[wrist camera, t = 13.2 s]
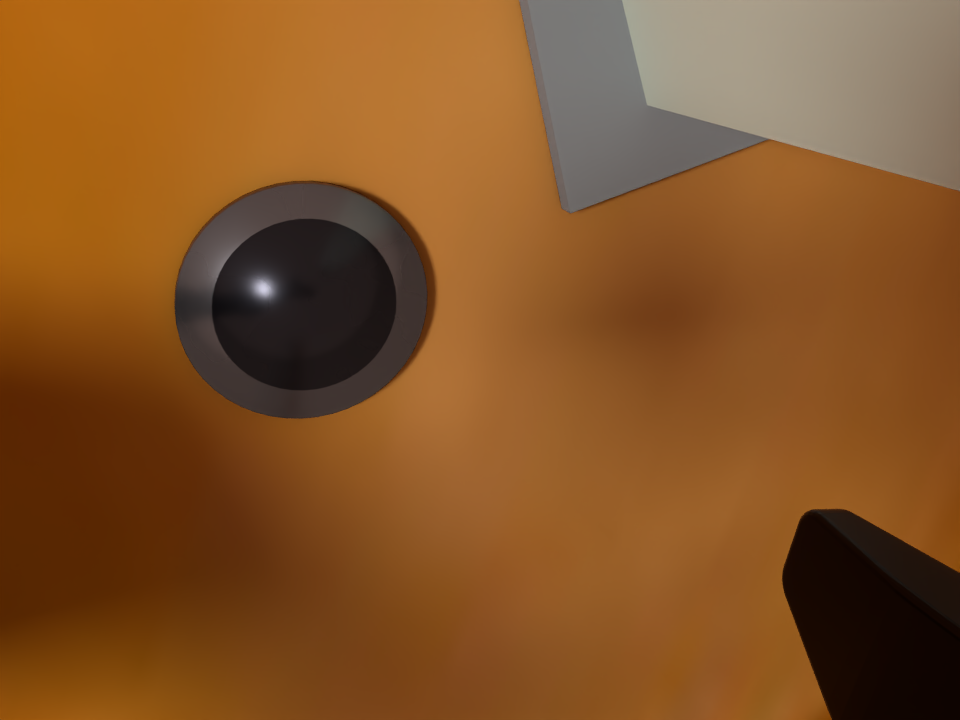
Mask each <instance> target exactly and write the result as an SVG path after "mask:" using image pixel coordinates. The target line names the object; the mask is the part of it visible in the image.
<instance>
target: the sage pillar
mask: <svg viewBox="0 0 960 720" xmlns="http://www.w3.org/2000/svg"><path fill="white" fill-rule="evenodd" d="M622 2H623V7H624V11H625V15H626V19H627V23H628V27H629V32H630V36H631V40H632V44H633V48H634V53H635V57H636V61H637V65H638V69H639V73H640V78H641V82H642V86H643V90H644V94H645V98H646V103H647V105H648V106H652V107H656V108H659V109H663V110H666V111H670V112H674V113H677V114H681V115H685V116H688V117H692V118H696V119H699V120H703V121H706V122H710V123H714V124H717V125H721V126H725V127H728V128H732V129H736V130H739V131H743V132H747V133H750V134H754V135H757V136H761V137H765V138H768V139H772V140H776V141H779V142H783V143H787V144H790V145H794V146H797V147H801V148H805V149H808V150H812V151H816V152H819V153H823V154H827V155H830V156H834V157H838V158H841V159H845V160H848V161H852V162H856V163H859V164H863V165H867V166H870V167H874V168H878V169H881V170H885V171H888V172H892V173H896V174H899V175H903V176H907V177H910V178H914V179H918V180H921V181H925V182H929V183H932V184H936V185H939V186H943V187H947V188H950V189H954V190H958V191H960V0H622Z"/></svg>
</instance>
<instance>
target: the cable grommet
mask: <svg viewBox="0 0 960 720" xmlns="http://www.w3.org/2000/svg"><path fill="white" fill-rule="evenodd" d="M426 309H427V286H426V278H425V273H424V269H423V265H422V262H421V260H420V257H419V254H418V252H417V250H416V248H415V246H414V244H413V243H412V241H411V239H410V237H409V236H408V235H407V233H406V232H405V231H404V229H403V228H402V227H401V225H400V224H399V223H398V222H397V221H396V220H395V219H394V218H393V217H392V216H391V215H390V214H389V213H388V212H387V211H386V210H384V209H383V208H382V207H380V206H379V205H378V204H377V203H375V202H374V201H372V200H370V199H369V198H367V197H365V196H363V195H362V194H360V193H357V192H355V191H352V190H350V189H347V188H345V187H341V186H337V185H333V184H330V183H323V182H315V181H292V182H285V183H278V184H274V185H270V186H266V187H263V188H259V189H257V190H255V191H252V192H250V193H247V194H245V195H243V196H241V197H239V198H238V199H236V200H234V201H233V202H231V203H229V204H228V205H226V206H225V207H224V208H223V209H221V210H220V211H219V212H217V213H216V214H215V215H214V216H213V217H212V218H211V219H210V220H209V221H208V222H207V223H206V224H205V225H204V226H203V227H202V229H201V230H200V231H199V233H198V234H197V235H196V237H195V238H194V239H193V241H192V243H191V244H190V246H189V248H188V250H187V252H186V254H185V256H184V258H183V261H182V264H181V267H180V269H179V273H178V278H177V282H176V288H175V315H176V324H177V329H178V333H179V337H180V340H181V343H182V345H183V348H184V350H185V352H186V354H187V356H188V358H189V360H190V361H191V363H192V365H193V366H194V368H195V369H196V370H197V372H198V373H199V374H200V375H201V377H202V378H203V379H204V380H205V381H206V382H207V383H208V384H209V385H210V386H211V387H212V388H213V389H214V390H216V391H217V392H218V393H220V394H221V395H222V396H224V397H225V398H227V399H228V400H230V401H232V402H234V403H235V404H237V405H239V406H241V407H243V408H246V409H249V410H251V411H254V412H257V413H260V414H264V415H268V416H273V417H281V418H311V417H319V416H324V415H328V414H333V413H336V412H339V411H342V410H345V409H348V408H350V407H352V406H354V405H356V404H358V403H360V402H362V401H364V400H365V399H367V398H369V397H370V396H372V395H374V394H375V393H376V392H377V391H379V390H380V389H381V388H383V387H384V386H385V385H386V384H387V383H388V382H389V381H390V380H391V379H392V378H393V377H394V376H395V375H396V374H397V373H398V372H399V371H400V369H401V368H402V367H403V366H404V364H405V363H406V362H407V360H408V358H409V357H410V355H411V354H412V352H413V350H414V348H415V346H416V344H417V342H418V339H419V337H420V334H421V331H422V328H423V325H424V320H425V315H426Z"/></svg>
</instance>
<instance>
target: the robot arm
mask: <svg viewBox="0 0 960 720" xmlns="http://www.w3.org/2000/svg"><path fill="white" fill-rule="evenodd" d="M782 582H783V589H784V593H785V596H786V599H787V601H788V604H789V607H790V610H791V612H792V615H793V618H794V620H795V623H796V626H797V628H798V631H799V634H800V636H801V639H802V642H803V644H804V647H805V650H806V652H807V655H808V658H809V661H810V663H811V666H812V669H813V671H814V674H815V677H816V679H817V682H818V685H819V687H820V690H821V693H822V695H823V698H824V701H825V703H826V706H827V709H828V711H829V713H830V716H831V718H832V720H960V573H959V572H957V571H955V570H953V569H952V568H950V567H948V566H946V565H945V564H943V563H941V562H939V561H937V560H936V559H934V558H932V557H930V556H929V555H927V554H925V553H923V552H921V551H920V550H918V549H916V548H914V547H912V546H911V545H909V544H907V543H905V542H904V541H902V540H900V539H898V538H896V537H895V536H893V535H891V534H889V533H888V532H886V531H884V530H882V529H880V528H879V527H877V526H875V525H873V524H872V523H870V522H868V521H866V520H864V519H863V518H861V517H859V516H857V515H855V514H854V513H852V512H850V511H848V510H844V509H813V510H810V511H807V512H806V513H805V514H804V515H803V516H802V517H801V519H800V521H799V524H798V526H797V529H796V532H795V535H794V538H793V541H792V544H791V547H790V550H789V553H788V556H787V559H786V562H785V564H784V568H783V575H782Z"/></svg>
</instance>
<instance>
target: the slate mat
mask: <svg viewBox="0 0 960 720" xmlns="http://www.w3.org/2000/svg"><path fill="white" fill-rule="evenodd" d="M519 1H520V6H521V11H522V16H523V21H524V25H525V30H526V35H527V40H528V45H529V50H530V55H531V60H532V65H533V69H534V74H535V79H536V84H537V89H538V94H539V99H540V104H541V109H542V114H543V118H544V123H545V128H546V133H547V138H548V143H549V148H550V153H551V158H552V162H553V167H554V172H555V177H556V182H557V187H558V192H559V197H560V202H561V206H562V209H564V210H565V211H567V212H569V213H572V212H575V211H578V210H580V209H583V208H586V207H588V206H591V205H594V204H596V203H599V202H602V201H604V200H607V199H610V198H613V197H615V196H618V195H621V194H623V193H626V192H629V191H631V190H634V189H637V188H639V187H642V186H645V185H647V184H650V183H653V182H655V181H658V180H661V179H663V178H666V177H669V176H671V175H674V174H677V173H679V172H682V171H685V170H688V169H690V168H693V167H696V166H698V165H701V164H704V163H706V162H709V161H712V160H714V159H717V158H720V157H722V156H725V155H728V154H730V153H733V152H736V151H738V150H741V149H744V148H746V147H749V146H752V145H754V144H757V143H760V142H763V141H765V140H768V138H765V137H761V136H757V135H754V134H750V133H747V132H743V131H739V130H736V129H732V128H728V127H725V126H721V125H717V124H714V123H710V122H706V121H703V120H699V119H696V118H692V117H688V116H685V115H681V114H677V113H674V112H670V111H666V110H663V109H659V108H656V107H652V106H648V105H647V103H646V98H645V94H644V90H643V86H642V82H641V78H640V73H639V69H638V65H637V61H636V57H635V53H634V48H633V44H632V40H631V36H630V32H629V27H628V23H627V19H626V15H625V11H624V7H623V2H622V0H519Z"/></svg>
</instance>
